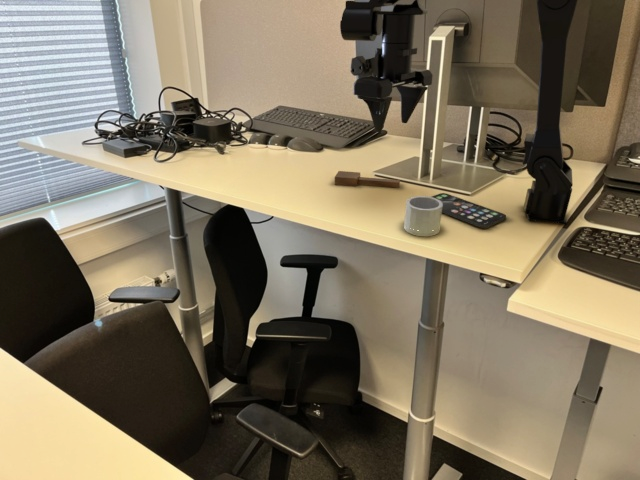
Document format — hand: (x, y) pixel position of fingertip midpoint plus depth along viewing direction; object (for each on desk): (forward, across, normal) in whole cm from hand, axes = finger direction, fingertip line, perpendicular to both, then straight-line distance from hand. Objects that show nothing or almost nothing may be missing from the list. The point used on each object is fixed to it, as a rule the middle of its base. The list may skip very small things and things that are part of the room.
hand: (391, 127), depth 93 cm
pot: (+14, +11, +14) cm, 23 cm away
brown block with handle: (+14, -1, -6) cm, 15 cm away
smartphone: (+14, -1, +17) cm, 22 cm away
